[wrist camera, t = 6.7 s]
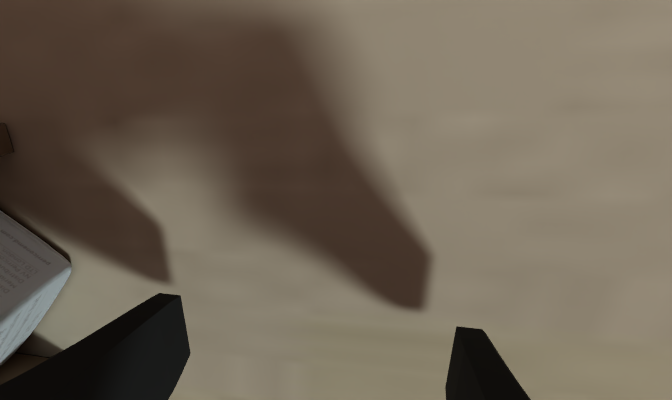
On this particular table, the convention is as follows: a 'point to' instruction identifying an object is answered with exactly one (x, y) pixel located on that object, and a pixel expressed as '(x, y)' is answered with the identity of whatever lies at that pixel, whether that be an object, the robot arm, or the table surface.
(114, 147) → the table surface
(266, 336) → the table surface
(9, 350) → the skincare box
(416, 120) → the table surface
